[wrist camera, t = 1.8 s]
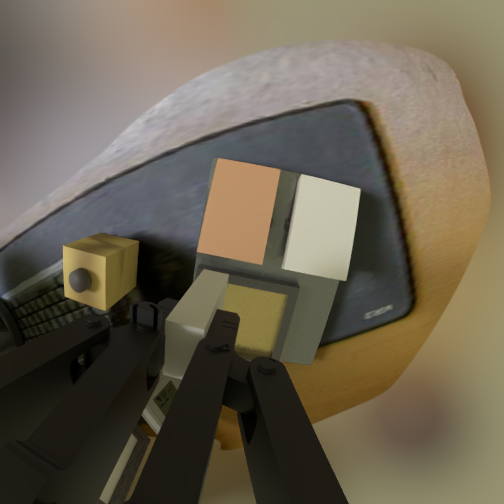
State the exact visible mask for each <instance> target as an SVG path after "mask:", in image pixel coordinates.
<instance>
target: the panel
mask: <svg viewBox="0 0 504 504" xmlns="http://www.w3.org/2000/svg"><path fill="white" fill-rule="evenodd" d="M217 160H218V158H213V161H212V166H211V171H210V177H209V182H208V188H207V193H206V199H205V205H204V211H203V217H202V223H201V229H202V225H203V220H204V215H205V211H206V206H207V202H208V198H209V193H210V189H211V185H212V180H213V176H214V172H215V168H216V164H217ZM300 176H301V174H298V173H294V172H289V171H284V170H281V171H280V176H279V181H278V187H277V192H276V197H275V202H274V207H273V213H272V218H271V223H270V228H269V233H268V238H267V243H266V248H265V253H264V258H263V263H262V265H260V264H255V263H250V262H245V261H240V260H235V259H230V258H225V257H220V256H215V255H210V254H205V253H200V252H197V256H196V263H195V270H194V278H193V283H194V281H195V280H196V279H197V277H198V276H199V275H200V274H201V272H202V271H203V270H204V269H206V270H211V271H215V272H220V273H225V274H229V278H228V283H227V289H226V295H225V301H224V307H223V310H225V311H229V312H234V313H237V314H238V316H239V317H240V323H239V328H238V333H237V338H236V343H235V348H234V349H235V352H236V353H237V354H238V355H239V356H240V357H241V358H243V359H245V360H247V361H250V362H251V360H252V359H254V358H257V357H270V358H273V359H276V360H278V361H284V362H290V363H297V364H305V365H312V362H313V359H314V357H315V354H316V351H317V348H318V346H319V343H320V340H321V337H322V334H323V331H324V328H325V325H326V322H327V319H328V316H329V313H330V310H331V307H332V304H333V300H334V297H335V294H336V291H337V287H338V284H339V280H337V279H332V278H326V277H321V276H316V275H311V274H306V273H301V272H295V271H290V270H285V269H282V263H283V258H284V253H285V247H286V242H287V237H288V232H289V226H290V221H291V216H292V210H293V205H294V199H295V193H296V188H297V182H298V179H299V178H300ZM361 191H362V189H360V196H361ZM359 200H360V198H359ZM201 229H200V234H201ZM199 239H200V236H199ZM198 244H199V242H198Z"/></svg>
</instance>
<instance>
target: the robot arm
mask: <svg viewBox="0 0 504 504" xmlns="http://www.w3.org/2000/svg"><path fill="white" fill-rule="evenodd" d="M228 278H229V274H225V273H220V272H215V271H211V270H206V269H204V270H203V271H202V272H201V274H200V275H199V276H198V277H197V279H196V280H195V281H194V283H193V284H192V285H191V287H190V288H189V289H188V291H187V292H186V293H185V294H184V296H183V297H182V298H181V300H180V301H178V300H174V299H170V298H167V299H164V300H162V301H160V302H159V303H158V304H157V305H156V304H154V303H151V302H135V303H132V304H131V305H130V324H129V325H128V326H127V327H126V328H125V329H122V328H113V327H110V322H109V320H108V319H107V318H106V317H105V316H102V315H99V314H88V315H85V316H82V317H80V318H78V319H76V320H74V321H72V322H70V323H68V324H66V325H64V326H62V327H59V328H57V329H55V330H53V331H51V332H49V333H47V334H45V335H43V336H41V337H39V338H37V339H35V340H33V341H31V342H29V343H27V344H25V345H24V344H23V340H22V337H21V334H20V331H19V329H18V327H17V325H16V323H15V321H14V319H13V317H12V315H11V314H10V312H9V310H8V309H7V308H6V306H5V305H4V304H3V303H2V302H1V301H0V504H97V502H98V500H99V498H100V496H101V494H102V492H103V490H104V488H105V486H106V484H107V482H108V480H109V478H110V476H111V474H112V472H113V470H114V468H115V466H116V464H117V462H118V460H119V458H120V456H121V454H122V452H123V450H124V448H125V446H126V444H127V442H128V440H129V438H130V436H131V434H132V432H133V430H134V428H135V427H136V425H137V423H138V421H139V419H140V417H141V415H142V413H143V411H144V409H145V407H146V405H147V403H148V402H149V400H150V398H151V396H152V394H153V392H154V390H155V388H156V386H157V385H158V383H159V379H160V370H161V369H162V367H163V375H167V376H170V377H174V378H177V379H181V380H182V381H181V383H180V385H179V387H178V390H177V392H176V394H175V396H174V399H173V401H172V403H171V406H170V408H169V410H168V412H167V415H166V417H165V419H164V422H163V424H162V426H161V428H160V431H159V433H158V435H157V438H156V440H155V442H154V445H153V447H152V450H151V452H150V454H149V456H148V459H147V461H146V463H145V466H144V468H143V470H142V473H141V475H140V477H139V480H138V482H137V485H136V487H135V489H134V492H133V494H132V496H131V498H130V499H129V500H128V501H126V502H124V503H123V504H200V501H201V496H202V492H203V488H204V483H205V479H206V475H207V470H208V466H209V461H210V457H211V452H212V448H213V444H214V439H215V435H216V430H217V426H218V421H219V417H220V412H221V409H222V404H223V405H225V406H227V407H229V408H231V409H233V410H236V411H238V412H237V416H238V422H239V427H240V432H241V436H242V441H243V446H244V451H245V456H246V460H247V464H248V469H249V474H250V478H251V482H252V487H253V491H254V495H255V499H256V503H257V504H349V503H348V501H347V499H346V497H345V495H344V493H343V491H342V488H341V486H340V484H339V483H338V480H337V478H336V476H335V474H334V472H333V470H332V468H331V465H330V463H329V461H328V459H327V457H326V455H325V453H324V451H323V449H322V447H321V444H320V442H319V440H318V438H317V436H316V433H315V431H314V429H313V427H312V425H311V423H310V420H309V418H308V416H307V414H306V412H305V410H304V407H303V405H302V403H301V401H300V399H299V396H298V394H297V392H296V390H295V388H294V385H293V383H292V381H291V379H290V377H289V374H288V372H287V370H286V368H285V366H284V365H283V364H282V363H281V362H279V361H278V360H276V359H273V358H270V357H257V358H254V359H252V360H251V362H250V361H247V360H245V359H243V358H241V357H240V356H239V355H238V354H237V353H236V352H235V349H234V348H235V343H236V338H237V333H238V328H239V323H240V317H239V316H238V314H237V313H234V312H229V311H225V310H223V307H224V301H225V295H226V289H227V283H228ZM81 354H83V361H82V362H79V363H78V360H77V357H78V356H80V355H81Z"/></svg>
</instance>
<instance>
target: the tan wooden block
mask: <svg viewBox="0 0 504 504" xmlns="http://www.w3.org/2000/svg"><path fill="white" fill-rule="evenodd" d="M138 249H139V241H136V240H131V239H126V238H122V237H117V236H113V235H108V234H103V233H98V234H95V235H93V236H90V237H87V238H84V239H81V240H78V241H75V242H72V243H69V244H67V245H64V246H63V273H64V291H65V297H68V298H70V299H73V300H76V301H78V302H81V303H84V304H87V305H89V306H92V307H95V308H98V309H101V310H104V311H107V310H108V309H109V308H110V307H111V306H113V305H114V304H115V303H116V302H117V301H119V300H120V299H121V298H122V297H123V296H125V295H126V294H127V293H128V292H129V291H131V290H132V289H133V288H134V287H136V278H137V262H138Z"/></svg>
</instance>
